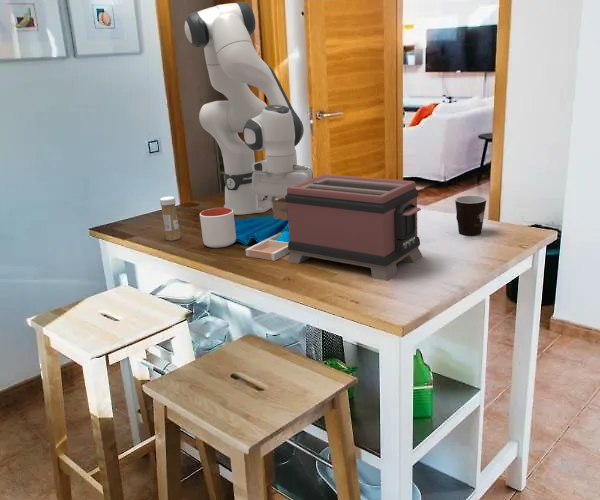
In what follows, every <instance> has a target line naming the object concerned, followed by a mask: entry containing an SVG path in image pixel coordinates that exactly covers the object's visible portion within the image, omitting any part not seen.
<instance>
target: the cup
mask: <svg viewBox="0 0 600 500" xmlns="http://www.w3.org/2000/svg"><path fill="white" fill-rule="evenodd" d="M199 218H200V219H199V222H200V227H201V235H202V242H203V244H204V246H206V247H208V248H214V249H220V248H225V247H228V246H232V245H233V244H235V243H236V240H237V234H236V224H235V214H233V210H232V209H230V208H224V207H214V208H213V207H212V208H209V209H205V210H202V211H201V212H200V213H199Z"/></svg>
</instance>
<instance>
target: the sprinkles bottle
mask: <svg viewBox="0 0 600 500" xmlns="http://www.w3.org/2000/svg"><path fill="white" fill-rule="evenodd" d="M159 202H160V203H159V204H160V206H161V212H162V219H163V226H164V230H165V231H164V232H165V236H166V237H165V239H166V240H167V241H171V242H172V241H177V240H179V239H181V234H180V229H179V227H180V226H179V221H178V214H177V208H176V197H175V196H163V197H160V199H159Z"/></svg>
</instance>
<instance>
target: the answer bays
mask: <svg viewBox="0 0 600 500" xmlns="http://www.w3.org/2000/svg"><path fill="white" fill-rule="evenodd" d="M281 232H282V231H281ZM281 232H278V233H277V234H274V235H272V236H270V237H268V238H265V239H264V240H262V241H259V242H258V243H256V244H254V245H252V246H249V247H247V248H245V255H246V257H250V258H256V259H262V260H267V261H277V260H279V259H281V258H283V257H285V256H286V255H289V254H290V251H289V250H288V243H289V242H284V241H277V240H274V239H276V238H277V237H279V236H280V235H281Z"/></svg>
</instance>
